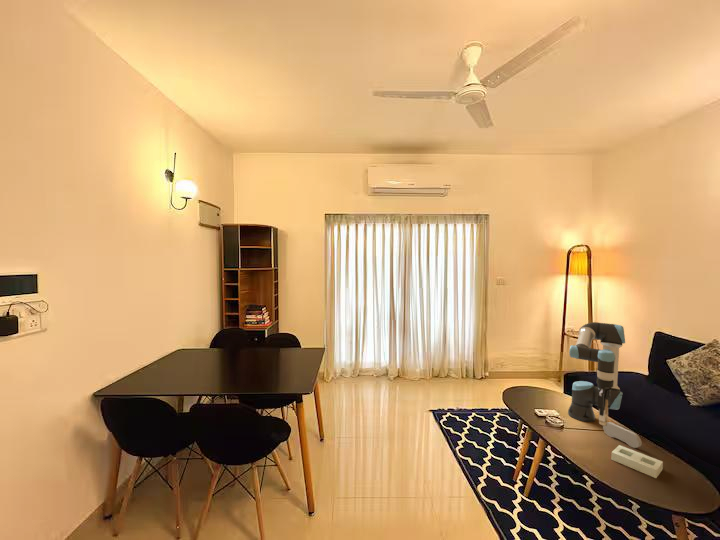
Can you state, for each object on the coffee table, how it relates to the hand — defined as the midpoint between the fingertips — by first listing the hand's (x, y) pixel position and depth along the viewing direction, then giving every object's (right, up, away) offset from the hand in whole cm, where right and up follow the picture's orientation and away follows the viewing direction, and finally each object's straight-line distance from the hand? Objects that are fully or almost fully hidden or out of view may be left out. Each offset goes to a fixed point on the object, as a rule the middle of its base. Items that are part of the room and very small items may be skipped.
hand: (603, 419), depth 184 cm
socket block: (+6, -17, -14) cm, 23 cm away
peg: (0, -3, 0) cm, 3 cm away
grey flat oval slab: (+16, -16, +8) cm, 24 cm away
